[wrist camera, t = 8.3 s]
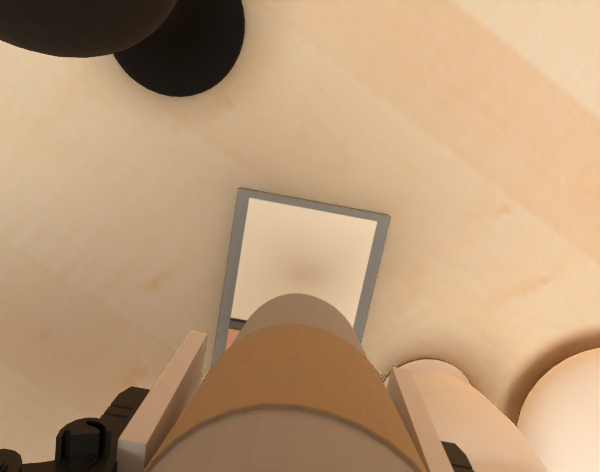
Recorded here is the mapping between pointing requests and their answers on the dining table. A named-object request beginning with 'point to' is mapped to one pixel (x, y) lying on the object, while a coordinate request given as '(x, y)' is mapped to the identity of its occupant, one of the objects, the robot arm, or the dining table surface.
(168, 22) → the wine glass
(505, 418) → the jar
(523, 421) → the teapot
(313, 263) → the makeup palette
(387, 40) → the dining table surface
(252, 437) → the coffee cup
